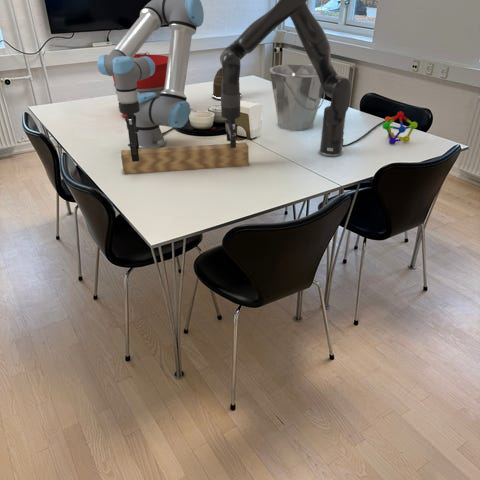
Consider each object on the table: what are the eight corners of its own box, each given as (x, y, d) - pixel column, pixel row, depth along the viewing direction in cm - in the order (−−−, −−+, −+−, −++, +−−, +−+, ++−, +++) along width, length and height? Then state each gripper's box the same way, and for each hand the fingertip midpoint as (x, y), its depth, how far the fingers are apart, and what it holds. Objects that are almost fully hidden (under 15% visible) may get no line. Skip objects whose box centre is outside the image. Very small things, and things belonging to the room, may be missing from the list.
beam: (123, 174, 178) (121, 154, 174) (124, 169, 182) (121, 150, 178) (248, 165, 186) (248, 146, 182) (245, 160, 191) (246, 142, 186)
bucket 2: (296, 138, 215) (301, 78, 201) (255, 124, 234) (256, 68, 219) (335, 125, 232) (342, 70, 217) (294, 113, 251) (297, 61, 236)
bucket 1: (122, 105, 263) (114, 51, 248) (180, 106, 263) (177, 52, 247) (105, 123, 234) (95, 63, 218) (171, 124, 233) (166, 64, 217)
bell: (227, 105, 294) (202, 96, 282) (238, 66, 289) (213, 55, 277) (243, 108, 280) (217, 98, 268) (255, 66, 275) (229, 55, 263)
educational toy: (377, 146, 209) (379, 114, 202) (384, 138, 219) (386, 107, 211) (411, 149, 202) (415, 116, 195) (417, 141, 212) (420, 109, 204)
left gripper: (138, 110, 156) (145, 166, 168) (138, 92, 177) (144, 142, 189) (117, 111, 155) (125, 167, 167) (119, 93, 176) (126, 144, 187)
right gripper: (243, 109, 169) (243, 149, 178) (236, 99, 181) (237, 137, 189) (224, 110, 168) (225, 151, 176) (218, 100, 180) (219, 139, 188)
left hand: (135, 154), depth 178 cm, fingers open, 13 cm apart
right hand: (231, 144), depth 183 cm, fingers open, 8 cm apart
